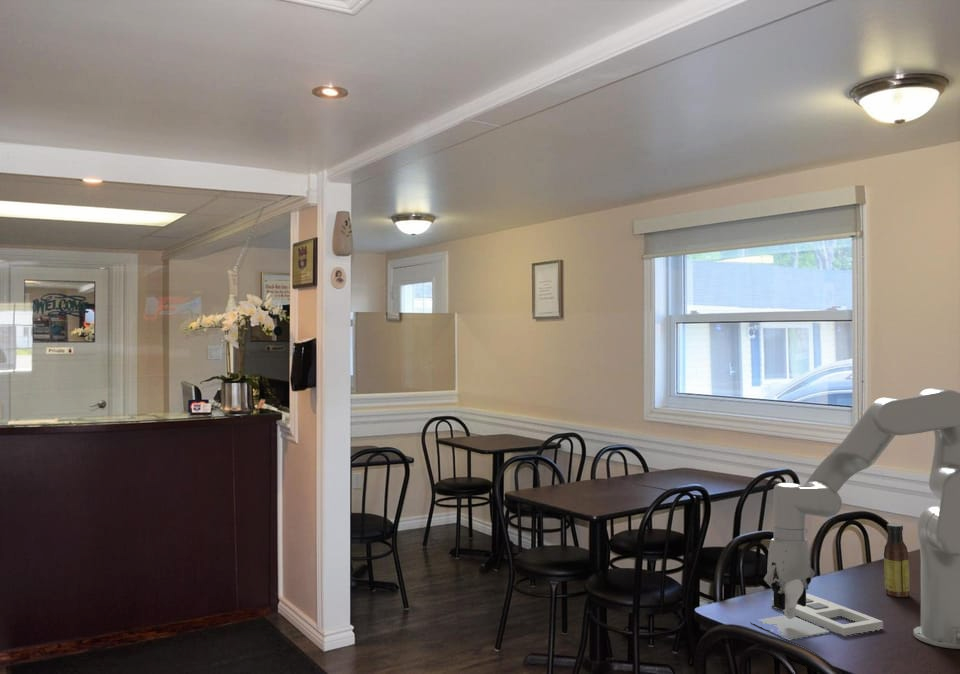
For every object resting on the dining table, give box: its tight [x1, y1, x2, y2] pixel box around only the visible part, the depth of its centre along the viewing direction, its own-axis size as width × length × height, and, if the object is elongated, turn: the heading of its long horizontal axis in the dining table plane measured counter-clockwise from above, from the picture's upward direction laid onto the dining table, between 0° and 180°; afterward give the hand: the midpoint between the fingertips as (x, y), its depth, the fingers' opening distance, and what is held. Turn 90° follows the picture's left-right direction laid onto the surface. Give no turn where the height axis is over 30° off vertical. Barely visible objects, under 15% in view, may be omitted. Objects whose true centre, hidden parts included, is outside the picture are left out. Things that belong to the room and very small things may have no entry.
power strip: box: [770, 592, 884, 636], centre depth 203 cm, size 24×13×3 cm, turn 23°
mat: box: [758, 614, 831, 640], centre depth 195 cm, size 13×13×1 cm
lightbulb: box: [778, 579, 804, 619], centre depth 196 cm, size 6×6×11 cm
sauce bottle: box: [883, 522, 911, 598], centre depth 223 cm, size 7×6×20 cm
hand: (789, 605), depth 196 cm, fingers closed on lightbulb, 6 cm apart
